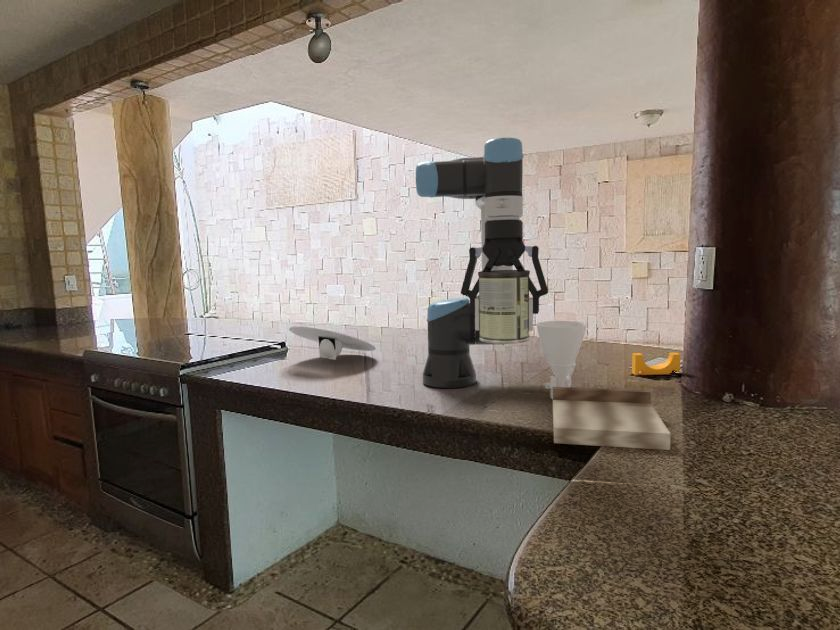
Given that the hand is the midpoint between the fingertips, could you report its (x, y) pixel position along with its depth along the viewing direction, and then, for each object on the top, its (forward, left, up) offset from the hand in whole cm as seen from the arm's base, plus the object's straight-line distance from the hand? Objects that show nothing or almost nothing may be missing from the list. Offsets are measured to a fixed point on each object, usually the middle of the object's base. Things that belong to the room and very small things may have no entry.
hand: (504, 329), depth 107 cm
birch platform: (+20, 0, -20) cm, 28 cm away
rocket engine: (+12, +21, -20) cm, 31 cm away
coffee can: (0, 0, -2) cm, 2 cm away
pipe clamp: (+38, +47, -20) cm, 64 cm away
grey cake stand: (-68, +47, -14) cm, 84 cm away
